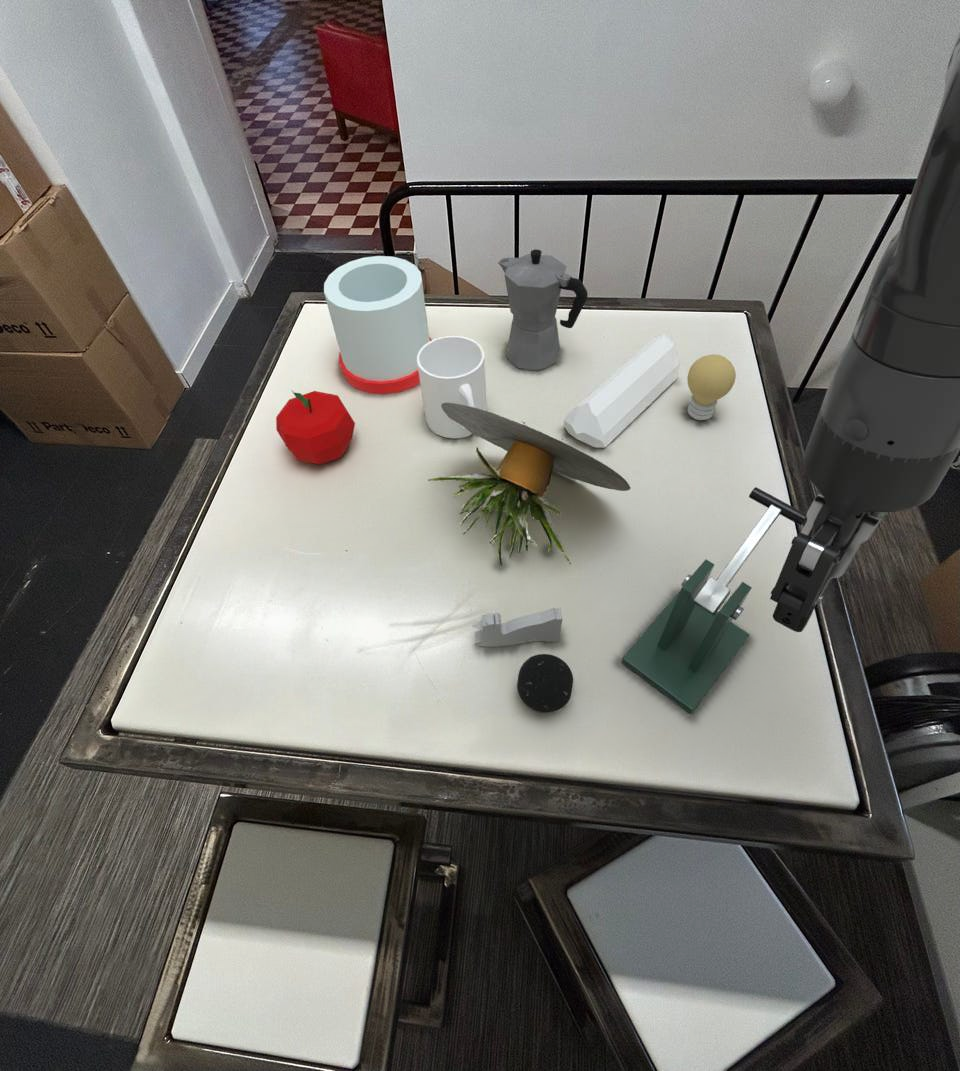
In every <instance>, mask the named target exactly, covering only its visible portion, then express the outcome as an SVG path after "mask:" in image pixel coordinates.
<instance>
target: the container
mask: <svg viewBox="0 0 960 1071" xmlns="http://www.w3.org/2000/svg"><path fill="white" fill-rule="evenodd" d="M323 294H324V298H325V301H326V305H327V309H328V312H329V316H330V318H331V319H330V320H331V323H332V324H331V325H332V327H333V331H334V334H335V338H336V342H337V345H338V349H339V353H338V363H339V367H340V371H341V374H342V375H343V376H342V377H344V379H345V381H346V382H347V383H348V384H349V385H351V386H352V387H353V388H354V389H356V390H359V391H362V392H365V393H368V394H377V395H387V394H396V393H400V392H404V391H406V390H409V389H413V388H415V387H416V386H418V385H420V379H419V372H418V366H417V355H418V353H419V350H420V349H421V348H422V347H423V346H424V345H425V344H427V343H428V342H430V341H432V340H433V339H432V338H431V337H430V332H429V325H428V317H427V309H426V302H425V293H424V286H423V279H422V272H421V271H420V269H419V268H418V267H417V265H415V264H413V263H412V262H410V261H408V260H407V259H403V258H399V257H396V256H388V255H387V256H386V255H375V256H366V257H362V258H358V259H355V260H351V261H348V262H346V263H344V264H343V265H340V266H339V267H337V268H335V269H334V270H333V271H332V272H331V273H330V274H328V276H327V278H326V280H325V281H324V282H323Z"/></svg>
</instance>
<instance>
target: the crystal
mask: <svg viewBox="0 0 960 1071" xmlns="http://www.w3.org/2000/svg"><path fill="white" fill-rule="evenodd" d="M680 365H681V363H680V359H679V355H678V351H677V349H676V345H675V344H674V343H673V341H671V339H669V338H668V337H667V336H666V335H665V334H662V335H656V336H654V337H653V338H651V340H649V341H648V342H647V343H646V344H645V345H644V346H643V347H641V348H640V349H639V350H638V351H637V352H636V353H635V354H634V355H633V356H632V357H630V358H629V359H628V360H626V362H624V363H623V364H622V365H621V366H620V367H619V368H618V369H616V370H615V371H614V372H613V373H612V374H611V375H609V377H607V378H606V379H605V380H604V381H603V382H602V383H601V384H600V385H598V386H597V387H596V388H595V389H593V391H591V392H590V394H588V395H587V396H586V397H585V398H584V399H582V400H581V401H580V402H579V403H578V404H577V405H576V406H575V407H574V408H572V409H571V411H569V412H568V413H567V414H566V415H565V417H564V419H563V426H564V428H565V429H566V431H567V433H568V434H570V435H571V436H572V437H573V438H575V439H576V440H579V441H581V442H582V443H585V444H587V445H589V446H591V447H593V448H606V447H607V446H608V445H609V444H610V443H611V442H612V441H613V440H615V438H616V437H618V436H619V435H620V434H621V433H622V432H623V431H624V430H625V429H626V428H627V427H628V426H629V425H630V424H631V423H632V422H634V420H635V419H636V418H637V417H638V416H640V415H641V414H642V413H643V412H644V411H645V410H646V409H647V408H648V407H649V406H650V405H651V404H652V403H653V402H654V401H655V400H656V399H657V398H658V397H659V396H661V394H662V393H664V392H665V390H666V389H668V387H670V386H671V384H673V383H674V382H675V381H676V380H677V378H678V375H679V369H680Z"/></svg>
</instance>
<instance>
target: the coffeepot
mask: <svg viewBox="0 0 960 1071" xmlns="http://www.w3.org/2000/svg"><path fill="white" fill-rule="evenodd" d="M542 253H543V251H542V250H540V249H536V248H534V249H532V250H530V253H527V254H525V255H523V256H520V257H507V258H506V257H504V258H502V259H500V260H499V261H498V262H497V264H498V265H499V266H500V267H501V269H502V271H503V273H504V282H505V287H506V293H507V300H508V305H509V311H510V313H511V314H512V321H511V325H510V332H509V338H508V342H507V349H506V354H505V358H507V360H508V361H509V362H510V363H511V365H512V366H514V367H516V368H518V369H520V370H523V371H524V370H525V371H531V372H532V371H533V372H534V371H541V370H546V369H549V368H550V367H552V366H553V365H554V364H555V363H557V362H558V359H559V355H560V350H561V346H560V338H559V330H558V328H559V327H558V322H557V318H556V315H557V311H558V306H559V301H560V296H561V292H562V290H564V291H571V292H574V295H575V297H574V299H573V302H572V306H571V308H570V310H569V311H568V317H567V320H564V319H560V320H559V325H560V326H561V327H563V328H566V329H572V328H574V325H575V324H576V322H577V320H578V318H579V316H580V314H581V312H582V310H583V308H584V306H585V304H586V303H587V300H588V294H589V293H588V290H587V288H586V287H585V285H584V283H583V282H582V280H580V279H579V278H575V277H572V275H570V274H567V273H566V270H567V265H566V264H564V263H563V262H562V261H560V260H558V259H557V258H556V257H555V256H553V255H546V254H542Z"/></svg>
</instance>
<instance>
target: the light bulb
mask: <svg viewBox="0 0 960 1071" xmlns="http://www.w3.org/2000/svg"><path fill="white" fill-rule="evenodd" d="M686 378H687V386H688V390H689V391H690V393H691V395H690V400H689V402H688V406H687V413H688V415H689V416H690V417H691V418H692V419H694V420H697V421H706V420H709V419H710V418H712V416H714V412H715V410H716V406H717V403H718V400H720V399H722V398H724V397H725V396H726V395H728V393H730V392H731V390H732V388H733V386H734V384H735V382H736V369H735V367H734V365H733V363H732V362H731V361H730V360H729V359H728V358H727V357H725V356H723V355H721V354H715V353H714V354H707V355H703V356H701V357H699V358H698V359H696V360H695V361H694V362H692V364H691V366H690V368H689V370H688V373H687V376H686Z"/></svg>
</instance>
